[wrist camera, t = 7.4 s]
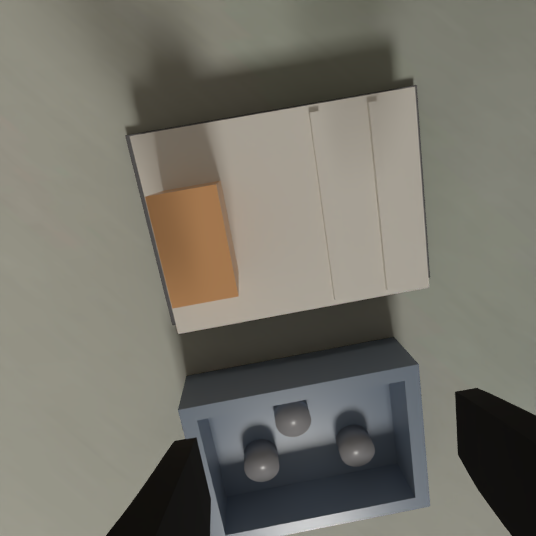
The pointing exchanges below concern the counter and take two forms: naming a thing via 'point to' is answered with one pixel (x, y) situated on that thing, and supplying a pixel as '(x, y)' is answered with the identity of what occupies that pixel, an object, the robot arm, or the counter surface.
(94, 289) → the counter surface
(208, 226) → the lid
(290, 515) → the tub
